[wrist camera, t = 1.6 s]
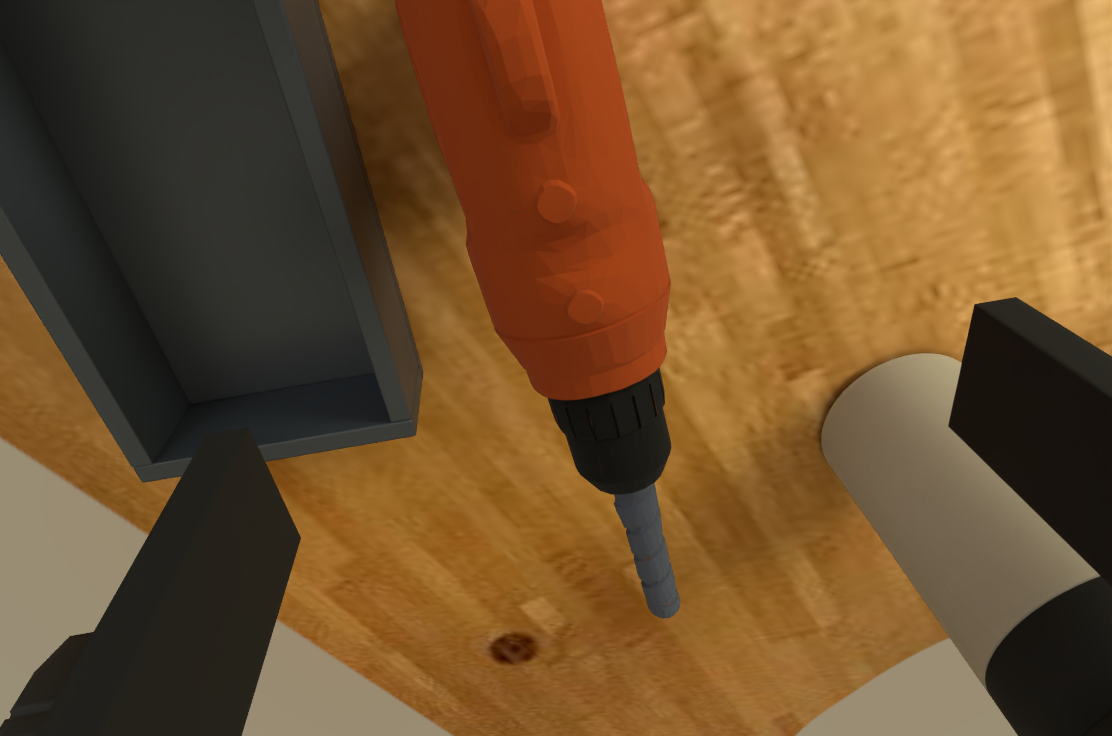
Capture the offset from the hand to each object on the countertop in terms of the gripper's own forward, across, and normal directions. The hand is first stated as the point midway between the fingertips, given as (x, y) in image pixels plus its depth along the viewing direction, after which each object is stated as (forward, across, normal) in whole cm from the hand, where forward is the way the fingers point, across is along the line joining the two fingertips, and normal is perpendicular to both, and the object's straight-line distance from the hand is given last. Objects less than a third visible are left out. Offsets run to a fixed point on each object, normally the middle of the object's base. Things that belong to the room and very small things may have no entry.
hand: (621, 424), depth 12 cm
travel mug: (+16, +16, -15) cm, 27 cm away
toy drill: (+16, 0, 0) cm, 16 cm away
